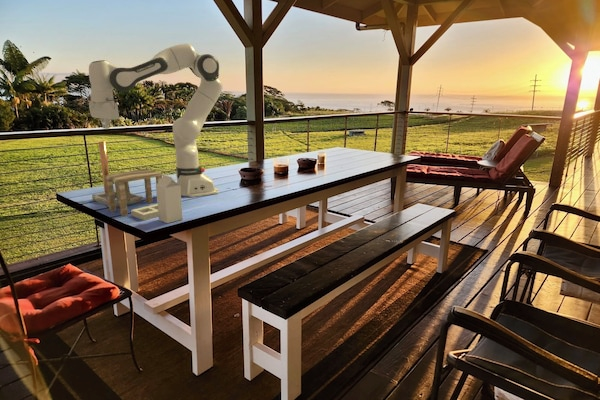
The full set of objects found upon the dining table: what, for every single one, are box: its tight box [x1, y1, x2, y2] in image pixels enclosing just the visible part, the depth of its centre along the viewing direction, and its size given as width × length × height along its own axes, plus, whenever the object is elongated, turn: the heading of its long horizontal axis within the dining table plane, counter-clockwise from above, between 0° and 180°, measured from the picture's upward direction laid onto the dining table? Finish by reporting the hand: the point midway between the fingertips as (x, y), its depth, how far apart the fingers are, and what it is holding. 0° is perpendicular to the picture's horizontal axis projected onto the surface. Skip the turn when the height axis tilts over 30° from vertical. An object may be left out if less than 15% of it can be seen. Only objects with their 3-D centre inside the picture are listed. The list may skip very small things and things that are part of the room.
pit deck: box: [130, 203, 159, 221], centre depth 170 cm, size 10×14×2 cm
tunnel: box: [105, 168, 164, 217], centre depth 175 cm, size 13×20×16 cm, turn 142°
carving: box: [114, 181, 131, 201], centre depth 183 cm, size 6×8×12 cm
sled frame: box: [91, 141, 143, 208], centre depth 184 cm, size 20×14×28 cm
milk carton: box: [155, 174, 183, 224], centre depth 161 cm, size 7×7×19 cm
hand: (106, 128), depth 180 cm, fingers closed
